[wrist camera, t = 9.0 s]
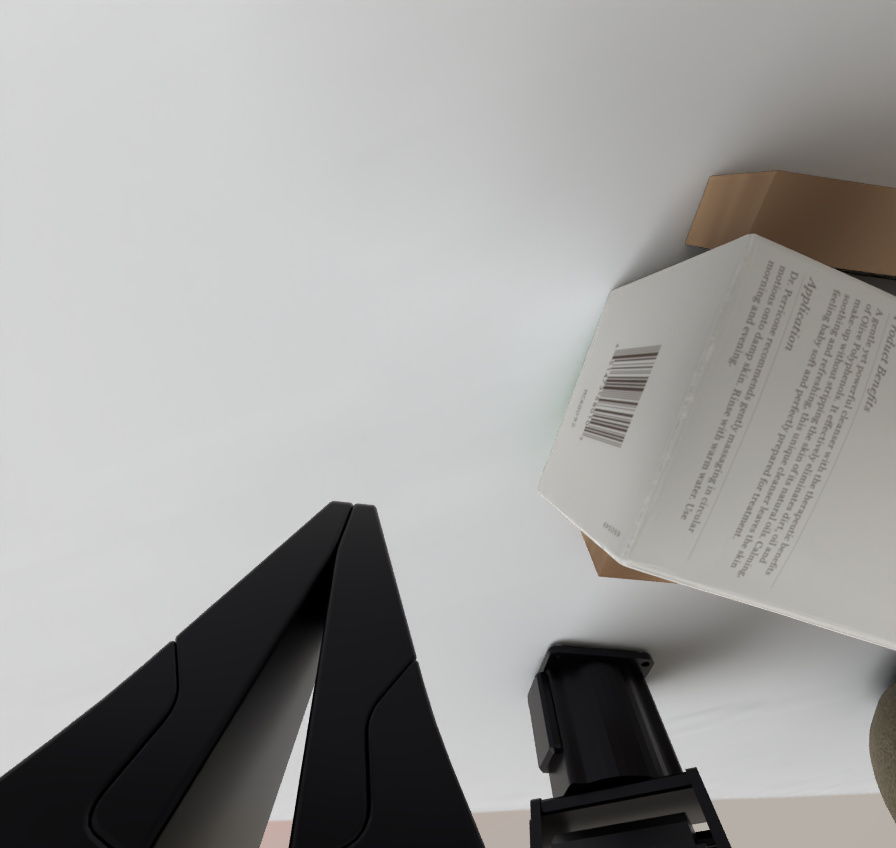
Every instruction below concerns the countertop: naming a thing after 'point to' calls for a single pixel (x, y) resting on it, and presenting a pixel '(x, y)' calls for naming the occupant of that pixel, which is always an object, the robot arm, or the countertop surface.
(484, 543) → the countertop surface
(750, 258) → the skincare box
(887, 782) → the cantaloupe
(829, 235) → the wooden tray
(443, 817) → the robot arm
